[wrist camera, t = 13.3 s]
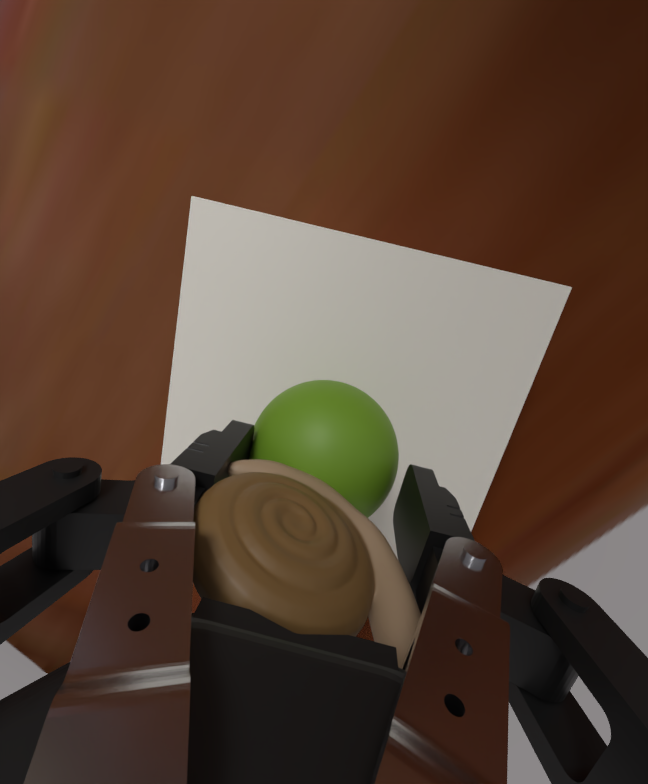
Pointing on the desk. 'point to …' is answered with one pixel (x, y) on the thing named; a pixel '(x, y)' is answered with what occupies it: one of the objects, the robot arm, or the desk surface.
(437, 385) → the cream block
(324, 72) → the desk surface
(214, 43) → the desk surface
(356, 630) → the snail figurine
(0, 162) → the desk surface
